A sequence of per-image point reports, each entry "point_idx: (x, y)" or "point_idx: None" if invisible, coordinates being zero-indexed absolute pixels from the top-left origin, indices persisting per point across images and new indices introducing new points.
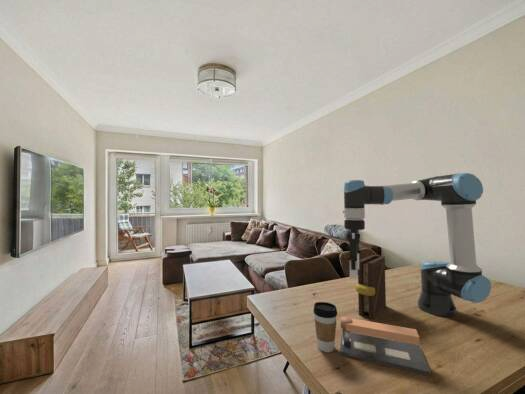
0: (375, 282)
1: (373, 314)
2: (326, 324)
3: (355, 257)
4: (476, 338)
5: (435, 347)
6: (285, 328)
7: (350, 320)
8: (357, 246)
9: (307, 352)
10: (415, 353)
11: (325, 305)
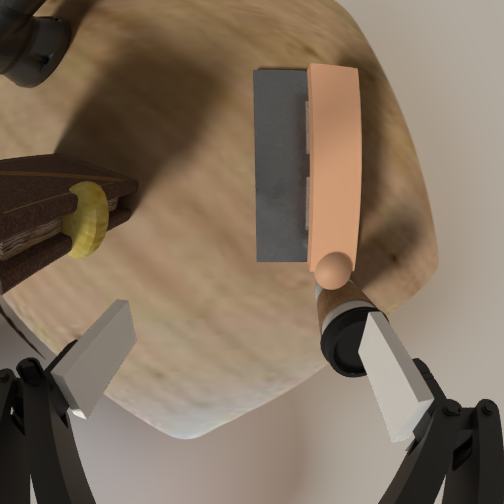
0: (44, 186)
1: (126, 180)
2: None
3: (494, 419)
4: None
5: (229, 40)
6: (285, 373)
7: (336, 259)
8: (62, 462)
9: None
10: (297, 85)
11: (339, 349)
